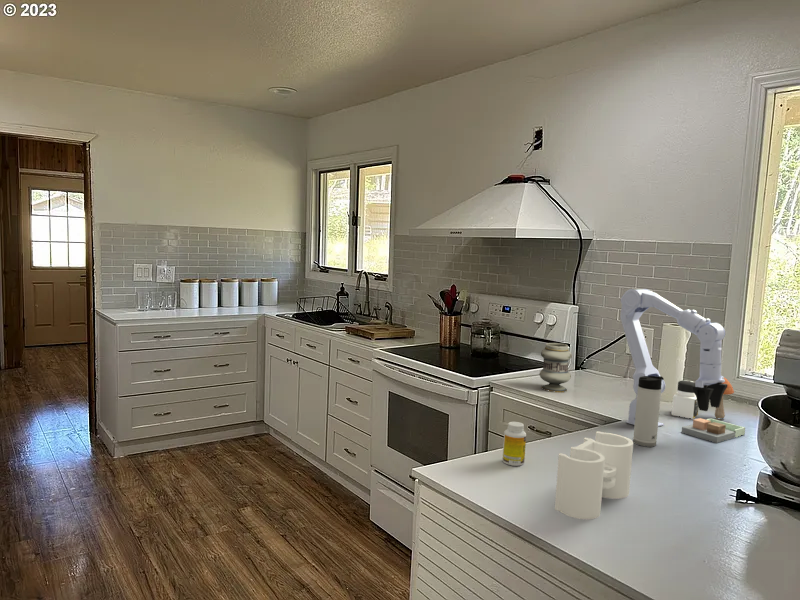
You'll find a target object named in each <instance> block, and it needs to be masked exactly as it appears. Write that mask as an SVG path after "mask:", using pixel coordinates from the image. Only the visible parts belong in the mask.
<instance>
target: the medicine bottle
mask: <svg viewBox="0 0 800 600" xmlns="http://www.w3.org/2000/svg"><path fill="white" fill-rule="evenodd" d="M694 385H695V381H692V380H683V379H682V380H679V381H678V382H677V392H676V393H674V394H673V396H672V403H671V406H672V407H671V416H674V417H679V416H680V417H679V418H684V417H685V419H689V418H691V419H690V420H694V419H696V417H697V416H698V415H699V406H698V402H697V398H696V395H695V393H694V391H693V390H692V386H694Z"/></svg>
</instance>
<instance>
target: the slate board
mask: <svg viewBox="0 0 800 600" xmlns="http://www.w3.org/2000/svg"><path fill="white" fill-rule="evenodd" d="M681 433H682V434H684V433H685V434H686V435H688V436H691V437H695V438H699V439H702V440H704V441H705V440H706V441H708V440H709V442H711V441H712V443H714V444H715V443H716V444H718V442H719V443H722V442H725V441H724V440H726V441H728V440H727V439H729V440H732V439H731V438H733V439H735V438H734V437H735V434H736V432H734V431H730V430H726V429H725V433H722V434H714V433H711V432H707V430H700V429H697V428H693V423H692V424H689V425H685V426H682V427H681ZM721 441H722V442H721Z"/></svg>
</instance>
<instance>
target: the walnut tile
mask: <svg viewBox="0 0 800 600" xmlns="http://www.w3.org/2000/svg"><path fill="white" fill-rule="evenodd" d="M725 428H726V425H724V424H720V423H716V422H712V423H708V424H707V432H711V433H714V434H722V433H725Z"/></svg>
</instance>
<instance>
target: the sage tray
mask: <svg viewBox="0 0 800 600" xmlns="http://www.w3.org/2000/svg"><path fill="white" fill-rule="evenodd" d="M705 420H709V421H711V423H712V422H716V423H720V424H724V425H726V428H725V429H726V430H730V431H734V432H736V434H735V437H736V438H739V437H742V436H741V435H743V436H745V435H746V434H745V433H746V427H745V426H741V425H737V424H734V423H730V422H725V421H722V420H720V419H716V418H715V419H714V418H707V419H705ZM744 434H745V435H744ZM738 436H739V437H738Z"/></svg>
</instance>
